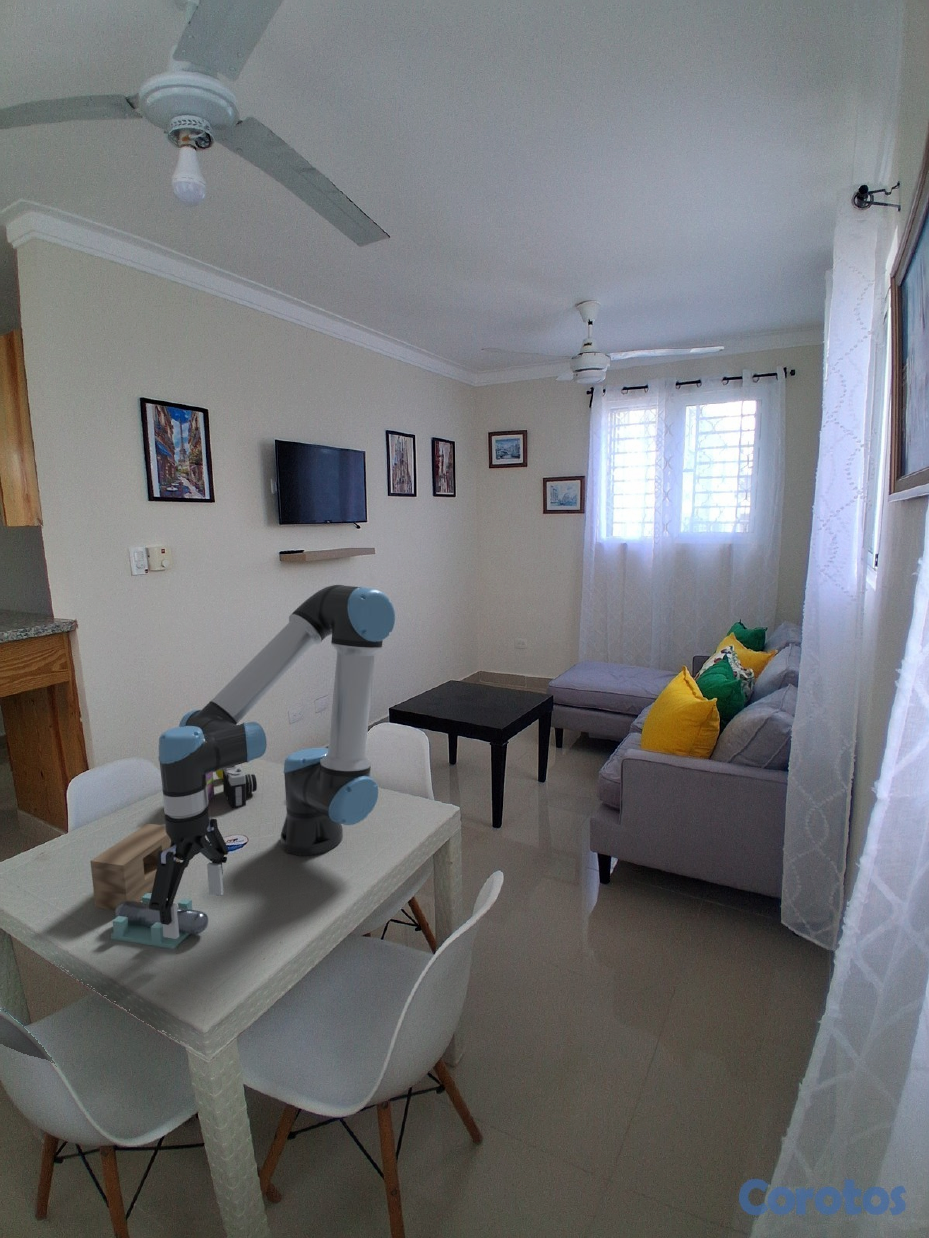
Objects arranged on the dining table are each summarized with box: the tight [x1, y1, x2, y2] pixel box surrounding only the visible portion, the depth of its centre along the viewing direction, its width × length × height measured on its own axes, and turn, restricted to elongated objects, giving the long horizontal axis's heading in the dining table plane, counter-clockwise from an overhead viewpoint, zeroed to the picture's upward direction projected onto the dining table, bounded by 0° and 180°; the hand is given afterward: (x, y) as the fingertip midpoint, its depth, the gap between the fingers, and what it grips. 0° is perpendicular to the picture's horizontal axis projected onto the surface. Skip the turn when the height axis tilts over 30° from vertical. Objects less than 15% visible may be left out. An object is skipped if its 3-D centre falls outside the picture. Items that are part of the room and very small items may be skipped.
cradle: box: [110, 893, 194, 950], centre depth 117 cm, size 14×9×4 cm, turn 77°
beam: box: [89, 823, 181, 911], centre depth 130 cm, size 8×16×10 cm, turn 167°
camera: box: [222, 764, 258, 810], centre depth 174 cm, size 14×9×10 cm, turn 23°
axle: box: [114, 900, 209, 935], centre depth 116 cm, size 20×4×4 cm, turn 77°
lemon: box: [215, 769, 223, 780], centre depth 186 cm, size 6×6×8 cm
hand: (195, 914), depth 115 cm, fingers open, 12 cm apart
